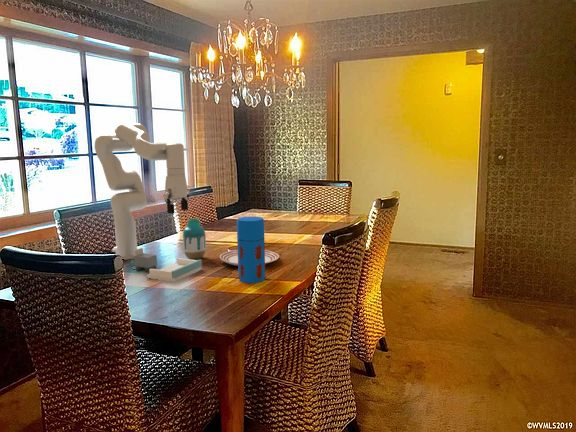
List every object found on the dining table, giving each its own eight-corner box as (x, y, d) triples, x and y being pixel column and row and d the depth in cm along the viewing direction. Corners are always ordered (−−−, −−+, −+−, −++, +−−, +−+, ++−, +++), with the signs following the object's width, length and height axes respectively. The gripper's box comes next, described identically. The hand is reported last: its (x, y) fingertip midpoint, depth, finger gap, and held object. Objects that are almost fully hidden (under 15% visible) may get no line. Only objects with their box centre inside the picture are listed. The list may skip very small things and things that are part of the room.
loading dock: (147, 278, 190) (146, 267, 189) (176, 266, 207) (175, 256, 206) (174, 282, 184) (173, 271, 183) (201, 269, 201) (201, 259, 200)
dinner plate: (268, 252, 231) (268, 245, 230) (287, 266, 206) (287, 259, 205) (214, 258, 221) (213, 251, 221) (227, 273, 196) (227, 266, 195)
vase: (184, 262, 214) (182, 221, 210) (183, 256, 224) (181, 218, 220) (207, 260, 216) (205, 220, 213) (205, 254, 226) (203, 216, 223)
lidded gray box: (134, 270, 201) (133, 250, 200) (143, 267, 206) (141, 247, 205) (148, 272, 198) (147, 252, 197) (157, 269, 203) (156, 249, 201)
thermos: (265, 274, 192) (264, 216, 188) (265, 282, 182) (263, 220, 178) (239, 275, 192) (237, 216, 188) (237, 283, 182) (235, 221, 177)
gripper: (180, 170, 206) (182, 208, 209) (155, 173, 191) (158, 214, 194) (194, 171, 204) (196, 209, 206) (170, 174, 188) (172, 215, 191)
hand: (177, 211), depth 200 cm, fingers open, 9 cm apart
